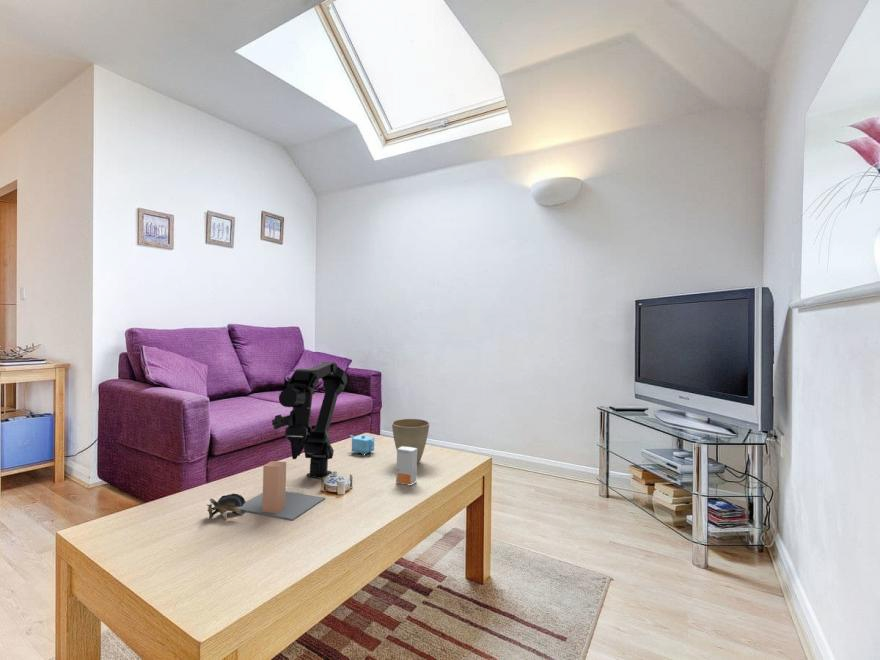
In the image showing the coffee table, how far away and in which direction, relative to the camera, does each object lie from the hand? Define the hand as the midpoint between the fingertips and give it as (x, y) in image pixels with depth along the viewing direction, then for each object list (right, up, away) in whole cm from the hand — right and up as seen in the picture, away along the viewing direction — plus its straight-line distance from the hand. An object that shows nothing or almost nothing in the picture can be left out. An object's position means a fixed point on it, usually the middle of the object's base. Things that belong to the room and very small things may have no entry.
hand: (296, 457), depth 138 cm
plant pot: (+34, -12, +33) cm, 49 cm away
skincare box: (+34, -12, +11) cm, 38 cm away
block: (-2, -11, -14) cm, 18 cm away
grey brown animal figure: (-13, -11, -18) cm, 25 cm away
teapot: (+12, -12, +45) cm, 48 cm away
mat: (-1, -11, -9) cm, 14 cm away
